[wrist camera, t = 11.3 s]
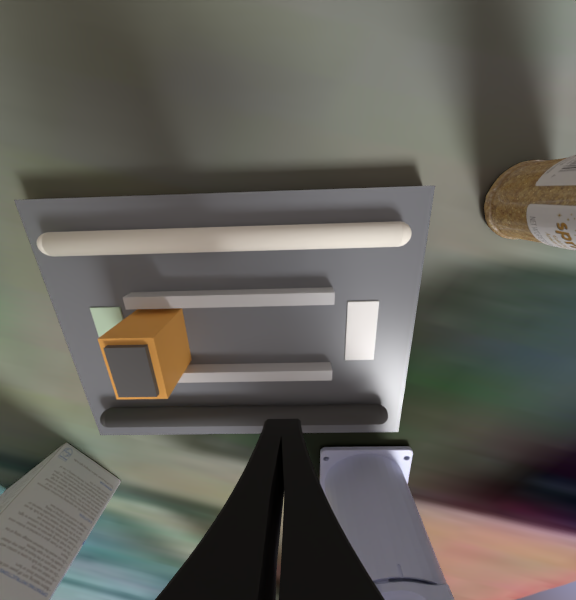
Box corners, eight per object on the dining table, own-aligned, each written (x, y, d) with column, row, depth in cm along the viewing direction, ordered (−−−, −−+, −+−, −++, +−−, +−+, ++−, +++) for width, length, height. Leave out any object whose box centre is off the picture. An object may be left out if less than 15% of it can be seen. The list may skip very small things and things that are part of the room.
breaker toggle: (191, 359, 20) (165, 402, 16) (150, 360, 20) (113, 403, 16) (182, 308, 18) (150, 340, 14) (137, 309, 18) (93, 341, 14)
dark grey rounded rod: (383, 414, 21) (389, 429, 20) (110, 417, 22) (98, 431, 20) (385, 399, 21) (391, 413, 19) (105, 403, 21) (93, 417, 20)
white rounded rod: (404, 244, 16) (413, 248, 15) (54, 254, 17) (34, 259, 16) (407, 219, 16) (417, 222, 15) (46, 231, 16) (25, 234, 15)
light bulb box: (62, 523, 29) (-61, 697, 19) (4, 488, 27) (-166, 661, 17) (125, 479, 26) (21, 654, 16) (65, 438, 25) (-92, 607, 15)
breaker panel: (391, 417, 23) (402, 442, 21) (111, 420, 24) (92, 445, 21) (423, 186, 17) (444, 185, 14) (36, 199, 17) (-4, 200, 15)
